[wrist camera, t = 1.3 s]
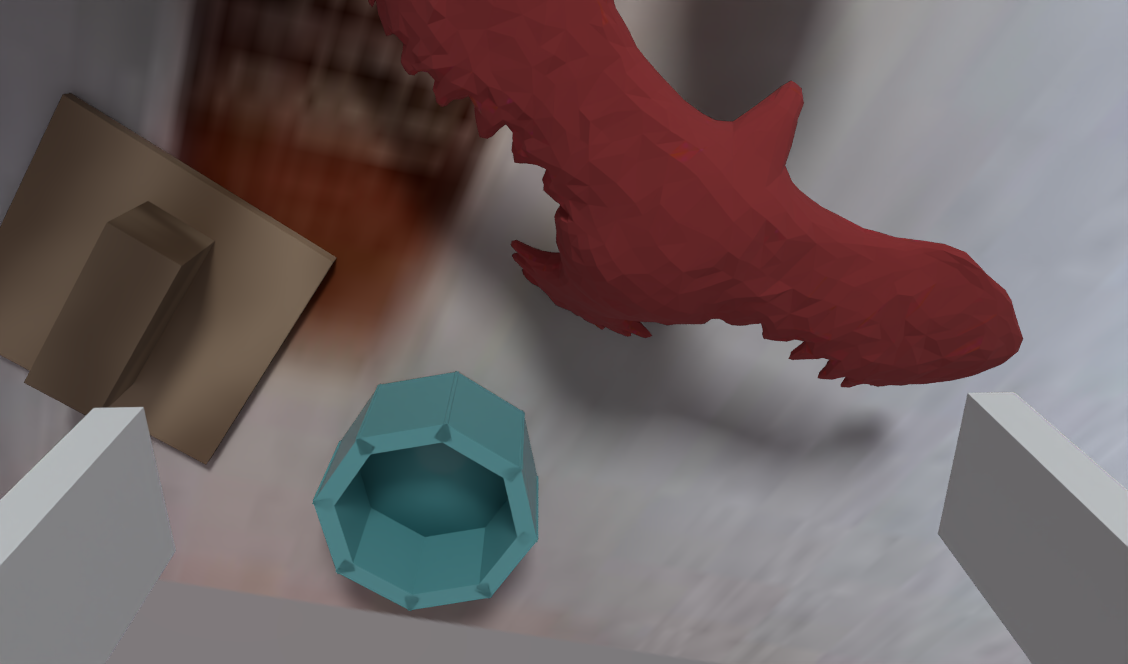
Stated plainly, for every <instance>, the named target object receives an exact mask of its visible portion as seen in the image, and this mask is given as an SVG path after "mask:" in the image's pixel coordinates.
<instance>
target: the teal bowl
mask: <svg viewBox="0 0 1128 664" xmlns="http://www.w3.org/2000/svg"><path fill="white" fill-rule="evenodd" d="M524 417H525V413H524V412H523V411H521V410H519V409H518V408H516V407H514V406H513V405H511V404H510V403H508V402H506V401H505V400H503V399H501V398H500V397H498V396H496V395H495V394H493V393H491V392H490V391H488V390H486V389H485V388H483V387H482V386H480V385H478V384H477V383H475V382H473V381H472V380H470V379H468V378H467V377H465V376H463V375H462V374H460V373H459V372H457V371H455V372H453V373H447V374H441V375H435V376H429V377H423V378H417V379H411V380H406V381H400V382H394V383H388V384H380V385H378V386H377V388H376V391H375V392H374V394H373V395H372V396H371V398H370V399H369V401H368V402H367V404H366V405H365V407H364V408H363V410H362V411H361V412H360V414H359V415H358V417H357V418H356V420H355V421H354V423H353V424H352V426H351V427H350V428H349V430H348V431H347V433H346V434H345V436H344V437H343V439H342V440H341V441H339V443H338V445H337V448H336V450H335V452H334V454H333V457H332V459H331V461H330V463H329V465H328V468H327V470H326V472H325V474H324V477H323V479H322V481H321V483H320V486H319V488H318V490H317V492H316V494H315V497H314V499H313V503H312V504H314V506H315V509H316V512H317V515H318V518H319V521H320V524H321V527H322V530H323V533H324V535H325V538H326V541H327V544H328V547H329V550H330V553H331V556H332V559H333V562H334V565H335V568H336V572H337V574H341V575H343V576H345V577H347V578H348V579H350V580H352V581H354V582H356V583H358V584H360V585H362V586H364V587H366V588H368V589H370V590H372V591H373V592H375V593H377V594H379V595H381V596H383V597H385V598H387V599H389V600H391V601H393V602H395V603H397V604H398V605H400V606H402V607H404V608H406V609H408V610H410V611H411V610H414V609H421V608H427V607H433V606H440V605H446V604H452V603H459V602H465V601H471V600H478V599H484V598H490V597H492V595H493V594H494V592H495V591H496V590H497V589H498V588H499V586H500V585H501V584H502V583H503V581H504V580H505V579H506V578H507V577H508V575H509V574H510V573H511V572H512V570H513V569H514V568H515V567H516V566H517V564H518V563H519V562H520V561H521V560H522V558H523V557H524V556H525V555H526V553H527V552H528V551H529V550H530V549H531V547H532V546H533V545H534V544H535V542H537V540H538V476H537V473H536V469H535V464H534V459H533V455H532V450H531V445H530V441H529V436H528V432H527V427H526V422H525V418H524Z"/></svg>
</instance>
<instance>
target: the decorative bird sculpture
mask: <svg viewBox="0 0 1128 664" xmlns="http://www.w3.org/2000/svg"><path fill="white" fill-rule="evenodd" d="M375 1H376V3H377V9H378V14H379V17H380V19H381V22H382V25H383V28H384V31H385V34H386V36H388V35H391V34H395V35H396V36H397V37H398V38H399V39H400V40H401V41H402V42H403V52H402V55H401V63H402V65H403V67H404V69H405V71H406V72H407V73H408V74H409V75H415V74H416V73H417V72H420V71H423V72H428V73H429V74H430V75H431V76H432V78H433V79H434V80H435V82H434V86H433V91H434V93H435V96H436V102H437V103H438V104H439V105H440V106H441V107H443V106H447V105H448V103H449V102H451V101H452V100H454V99H463V98H465V97H467V96H469V98H470V99H471V101H472V102H473V104H474V106H475V118H476V123H477V128H478V132H479V136H480V137H482V138H487V139H488V138H490V137H492V136H493V135H494V134H495V133H496V132H497V131H498V130H499V129H500V128H501V127H503V126H504V125H507V126H508V127H509V129H510V130H511V131H512V132H513V137H512V139H513V142H512V153H513V156H514V162H515V163H527V164H534V165H538V166H541V167H543V168H545V169H546V171H545V174H544V176H543V179H542V181H543V183H544V189H543V190H544V191H545V192H546V193H547V194H548V195H549V196H550V197H551V198H553V199H554V200H555V201H556V202H558V203H559V204H560V206H559V208H558V209H557V211H556V213H555V216H554V217H555V224H556V243H557V246H558V249H559V252H560V253H552V252H547V251H542V250H539V249H536V248H533V247H531V246H529V245H526V244H524V243H522V242H520V241H518V240H514V241H512V242H511V246H512V247H513V248H514V250H515V251H516V252H517V253H514V254H513V255H512V257H513V259H514V260H515V261H516V262H517V263H518V264H519V265H520V266H521V267H522V268H523V269H522V271H523V275H524V276H525V277H526V278H527V279H528V280H529V281H530V282H531V283H533V284H534V285H536V286H538V287H539V288H541V289H542V290H543V291H544V292H545V293H546V294H547V295H548V296H549V297H550V299H551V300H552V301H553V302H554V303H555V305H557V306H559V307H562V308H564V309H567V310H569V311H572V312H573V313H574V314H575V315H577V316H580V317H582V318H583V319H584V320H586V321H588V322H590V323H592V324H594V325H596V326H597V327H598V328H600V329H602V330H603V329H604V328H605V327H607V328H608V329H610V330H612V331H614V332H617V333H619V334H622V335H625V336H627V337H628V336H631V333H633V334H636V335H638V336H640V337H644V338H648V337H651V336H652V335H651V333H650V332H649V331H648V330H647V329H646V328H645V327H644V326H643V325H642V323H641V322H657V323H660V324H664V325H673V324H705V323H706V322H708V321H709V320H710V319H721V320H723V321H725V322H726V323H728V324H731V325H737V326H743V325H749V324H759V323H761V325H762V328H763V332H762V335H763V338H764V339H769V340H774V341H786V342H787V341H791V340H794V339H795V340H801V341H804V342H803V343H802V344H801V345H799V346H798V347H797V348H795V349H794V350H793V351H792V352H791V354H790V357H789V358H788V359H791V360H800V359H819V358H825V359H829V361H828V362H827V365H826V366H825V367H824V368H823V369H822V370H821V371H820V372H819V375H818V378H820V379H836V378H841V377H845V378H844V380H843V382H842V383H841V387H853V386H856V385H859V384H870V385H874V386H877V387H879V386H887V385H901V386H902V385H908V384H928V383H936V382H944V381H951V380H956V379H960V378H965V377H969V376H973V375H976V374H979V373H981V372H983V371H986V370H988V369H991V368H993V367H996V366H999V365H1001V364H1003V363H1004V362H1006V361H1007V360H1008V359H1009V358H1011V357H1012V356H1013V355H1014V354H1015V353H1017V352H1018V350H1019V348H1020V345H1021V343H1022V340H1023V337H1022V334H1021V331H1020V328H1019V325H1018V322H1017V318H1016V315H1015V312H1014V308H1013V305H1012V301H1011V299H1010V297H1009V296H1008V294H1007V292H1006V290H1005V289H1003V288H1002V287H1001V286H1000V285H999V284H998V283H996V282H995V281H994V280H993V279H992V278H991V277H990V276H988V275H987V274H986V273H985V272H984V271H983V269H982V268H981V267H980V266H979V265H978V264H977V263H976V262H975V261H974V260H973V259H972V258H971V257H970V256H969V255H968V254H967V253H966V252H964V251H961V250H959V249H956V248H953V247H951V246H948V245H946V244H941V243H934V242H928V241H921V240H913V239H905V238H897V237H893V236H889V235H886V234H883V233H880V232H876V231H872V230H868V229H864V228H862V227H860V226H858V225H856V224H854V223H852V222H850V221H848V220H847V219H845V218H843V217H841V216H839V215H837V214H835V213H833V212H831V211H829V210H827V209H825V208H823V207H821V206H820V205H819V204H817V203H816V202H814V201H813V200H811V199H810V198H809V197H808V196H806V195H805V194H804V193H803V192H801V191H800V190H799V189H798V188H797V187H796V186H795V184H794V183H793V182H792V180H791V178H790V176H789V173H788V171H787V169H786V166H785V164H786V161H787V158H788V155H789V152H790V149H791V146H792V142H793V138H794V134H795V130H796V126H797V120H798V117H799V114H800V112H801V109H802V107H803V104H804V101H803V95H802V88H800V87H799V86H798V85H797V84H796V83H795V82H793V81H789V82H788V83H786V84H784V85H783V86H781V87H780V88H778V89H777V90H776V91H775V92H773V93H772V94H771V95H769V96H768V97H767V98H765V99H764V100H763V101H761V102H760V103H759V104H757V105H756V106H754V107H753V108H752V109H750V110H749V111H748V112H746V113H745V114H743V115H742V116H740V117H739V118H737V119H736V120H734V121H718V120H714V119H712V118H710V117H708V116H706V115H704V114H702V113H701V112H700V111H698V110H697V109H695V108H694V107H693V106H691V105H690V104H689V103H687V102H686V101H684V100H683V98H682V97H681V96H680V95H679V94H678V93H677V92H676V91H675V90H674V89H673V88H672V87H671V86H670V85H669V84H668V83H667V82H666V81H665V79H664V78H663V77H662V76H661V75H660V74H659V73H658V72H657V71H656V70H655V68H654V67H653V66H652V65H651V64H650V63H649V62H648V60H647V59H646V58H645V57H644V56H643V54H642V53H641V52H640V50H639V49H638V48H637V46H636V44H635V42H634V40H633V38H632V36H631V34H630V32H629V30H628V28H627V26H626V24H625V23H624V21H623V19H622V18H621V16H620V14H619V13H618V11H617V9H616V7H615V4H614V0H368V2H369V4H370V5H371V6H372V7H373V5H374V2H375Z"/></svg>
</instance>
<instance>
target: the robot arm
mask: <svg viewBox="0 0 1128 664" xmlns="http://www.w3.org/2000/svg"><path fill="white" fill-rule="evenodd" d="M938 535H939V536H940V537H941V539H942V540H943V541H944V543H945V544H946V546H947V547H948V548H949V550H950V551H951V552H952V554H953V555H954V557H955V558H956V559H957V561H958V562H959V563H960V565H961V566H962V568H963V569H964V570H965V572H966V573H967V575H968V576H969V577H970V579H971V580H972V581H973V583H974V584H975V586H976V587H977V588H978V590H979V591H980V592H981V594H982V595H983V597H984V598H985V599H986V601H987V602H988V603H989V605H990V606H991V608H992V609H993V610H994V612H995V613H996V614H997V616H998V617H999V619H1000V620H1001V621H1002V623H1003V624H1004V625H1005V627H1006V628H1007V630H1008V631H1009V632H1010V634H1011V635H1012V637H1013V638H1014V639H1015V641H1016V642H1017V643H1018V645H1019V646H1020V648H1021V649H1022V650H1023V652H1024V653H1025V654H1026V656H1027V657H1028V659H1029V660H1030V661H1031V663H1032V664H1128V490H1127V489H1126V488H1124V487H1123V486H1122V485H1121V484H1120V483H1119V482H1117V481H1116V480H1115V479H1114V478H1113V477H1112V476H1110V475H1109V474H1108V473H1107V472H1106V471H1105V470H1104V469H1102V468H1101V467H1100V466H1099V465H1098V464H1097V463H1095V462H1094V461H1093V460H1092V459H1091V458H1090V457H1089V456H1087V455H1086V454H1085V453H1084V452H1083V451H1082V450H1080V449H1079V448H1078V447H1077V446H1076V445H1075V444H1074V443H1072V442H1071V441H1070V440H1069V439H1068V438H1067V437H1065V436H1064V435H1063V434H1062V433H1061V432H1060V431H1058V430H1057V429H1056V428H1055V427H1054V426H1053V425H1052V424H1050V423H1049V422H1048V421H1047V420H1046V419H1045V418H1043V417H1042V416H1041V415H1040V414H1039V413H1038V412H1037V411H1035V410H1034V409H1033V408H1032V407H1031V406H1030V405H1028V404H1027V403H1026V402H1025V401H1024V400H1023V399H1021V398H1020V397H1019V396H1018V395H1017V394H1016V393H1015V392H1001V393H968V394H967V399H966V404H965V408H964V413H963V418H962V423H961V427H960V432H959V437H958V441H957V446H956V451H955V456H954V460H953V465H952V470H951V475H950V479H949V484H948V489H947V494H946V498H945V503H944V508H943V512H942V517H941V522H940V527H939V531H938ZM175 551H176V549H175V545H174V540H173V536H172V531H171V527H170V523H169V518H168V514H167V509H166V505H165V500H164V496H163V491H162V487H161V482H160V478H159V474H158V469H157V465H156V460H155V456H154V451H153V447H152V442H151V438H150V434H149V429H148V425H147V420H146V416H145V411H144V407H116V408H93V409H92V410H91V411H90V412H89V413H88V414H87V415H86V416H85V417H84V418H83V419H82V420H81V421H80V422H79V423H78V424H77V425H76V426H75V427H74V428H73V429H72V430H71V431H70V432H69V433H68V434H67V435H66V436H65V437H64V438H63V439H62V440H61V441H60V442H59V443H58V444H57V445H56V446H55V447H54V448H53V449H52V450H51V451H49V452H48V453H47V454H46V455H45V456H44V457H43V458H42V459H41V460H40V461H39V462H38V463H37V464H36V465H35V466H34V467H33V468H32V469H31V470H30V471H29V472H28V473H27V474H26V475H25V476H24V477H23V478H22V479H21V480H20V481H19V482H18V483H17V484H16V485H15V486H14V487H13V488H12V489H11V490H10V491H9V492H8V493H7V494H6V495H5V496H4V497H3V498H2V499H1V500H0V664H106V662H107V661H108V659H109V657H110V656H111V654H112V652H113V651H114V649H115V648H116V646H117V644H118V643H119V641H120V640H121V638H122V636H123V635H124V633H125V632H126V630H127V628H128V627H129V625H130V624H131V622H132V620H133V619H134V617H135V616H136V614H137V612H138V611H139V609H140V607H141V606H142V604H143V603H144V601H145V599H146V598H147V596H148V595H149V593H150V591H151V590H152V588H153V586H154V585H155V583H156V582H157V580H158V579H159V577H160V575H161V574H162V572H163V571H164V569H165V567H166V566H167V564H168V562H169V561H170V559H171V558H172V556H173V554H174V553H175Z"/></svg>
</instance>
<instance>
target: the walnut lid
mask: <svg viewBox="0 0 1128 664" xmlns="http://www.w3.org/2000/svg"><path fill="white" fill-rule="evenodd" d="M335 259H336V257H335V256H333V255H331V254H330V253H328V252H326V251H325V250H323V249H322V248H320V247H318V246H317V245H315V244H314V243H312V242H310V241H309V240H307V239H306V238H304V237H302V236H301V235H299V234H297V233H296V232H294V231H293V230H291V229H289V228H288V227H286V226H285V225H283V224H281V223H280V222H278V221H276V220H275V219H273V218H272V217H270V216H268V215H267V214H265V213H264V212H262V211H260V210H259V209H257V208H255V207H254V206H252V205H251V204H249V203H247V202H246V201H244V200H243V199H241V198H239V197H238V196H236V195H234V194H233V193H231V192H230V191H228V190H226V189H225V188H223V187H222V186H220V185H218V184H217V183H215V182H213V181H212V180H210V179H209V178H207V177H205V176H204V175H202V174H201V173H199V172H197V171H196V170H194V169H192V168H191V167H189V166H188V165H186V164H184V163H183V162H181V161H180V160H178V159H176V158H175V157H173V156H171V155H170V154H168V153H167V152H165V151H163V150H162V149H160V148H159V147H157V146H155V145H154V144H152V143H150V142H149V141H147V140H146V139H144V138H142V137H141V136H139V135H138V134H136V133H134V132H133V131H131V130H130V129H128V128H126V127H125V126H123V125H121V124H120V123H118V122H117V121H115V120H113V119H112V118H110V117H109V116H107V115H105V114H104V113H102V112H100V111H99V110H97V109H96V108H94V107H92V106H91V105H89V104H88V103H86V102H84V101H83V100H81V99H79V98H78V97H76V96H75V95H73V94H71V93H68V94H63V95H62V97H61V99H60V101H59V103H58V106H57V108H56V110H55V112H54V114H53V116H52V118H51V120H50V123H49V125H48V127H47V129H46V131H45V133H44V135H43V137H42V139H41V142H40V144H39V146H38V148H37V150H36V152H35V154H34V156H33V159H32V161H31V163H30V165H29V167H28V169H27V171H26V173H25V175H24V178H23V180H22V182H21V184H20V186H19V188H18V190H17V192H16V195H15V197H14V199H13V201H12V203H11V205H10V207H9V209H8V211H7V214H6V216H5V218H4V220H3V222H2V224H1V226H0V355H1V356H3V357H5V358H7V359H9V360H10V361H12V362H14V363H16V364H18V365H20V366H22V367H24V368H25V369H27V370H29V371H30V372H29V374H28V376H27V377H26V379H25V381H24V383H25V384H27V385H29V386H31V387H33V388H35V389H37V390H39V391H41V392H43V393H44V394H46V395H48V396H50V397H52V398H54V399H56V400H58V401H60V402H61V403H63V404H65V405H67V406H69V407H71V408H73V409H75V410H77V411H78V412H80V413H82V414H84V415H87V414H88V413H89V412H90V411H91V410H92V409H93V408H116V407H144V411H145V416H146V420H147V425H148V429H149V434H150V435H151V436H153V437H155V438H157V439H159V440H161V441H162V442H164V443H166V444H168V445H170V446H172V447H174V448H176V449H177V450H179V451H181V452H183V453H185V454H187V455H189V456H191V457H192V458H194V459H196V460H198V461H200V462H202V463H204V464H207V463H208V461H209V460H210V458H211V457H212V455H213V454H214V452H215V451H216V449H217V447H218V446H219V444H220V443H221V441H222V439H223V438H224V436H225V435H226V433H227V432H228V430H229V428H230V427H231V425H232V424H233V422H234V420H235V419H236V417H237V416H238V414H239V412H240V411H241V409H242V408H243V406H244V404H245V403H246V401H247V400H248V398H249V396H250V395H251V393H252V392H253V390H254V388H255V387H256V385H257V384H258V382H259V380H260V379H261V377H262V376H263V374H264V372H265V371H266V369H267V368H268V366H269V365H270V363H271V361H272V360H273V358H274V357H275V355H276V353H277V352H278V350H279V349H280V347H281V345H282V344H283V342H284V341H285V339H286V337H287V336H288V334H289V333H290V331H291V329H292V328H293V326H294V325H295V323H296V321H297V320H298V318H299V317H300V315H301V313H302V312H303V310H304V309H305V307H306V306H307V304H308V302H309V301H310V299H311V298H312V296H313V294H314V293H315V291H316V290H317V288H318V286H319V285H320V283H321V282H322V280H323V278H324V277H325V275H326V274H327V272H328V270H329V269H330V267H331V266H332V264H333V262H334V261H335Z"/></svg>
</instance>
